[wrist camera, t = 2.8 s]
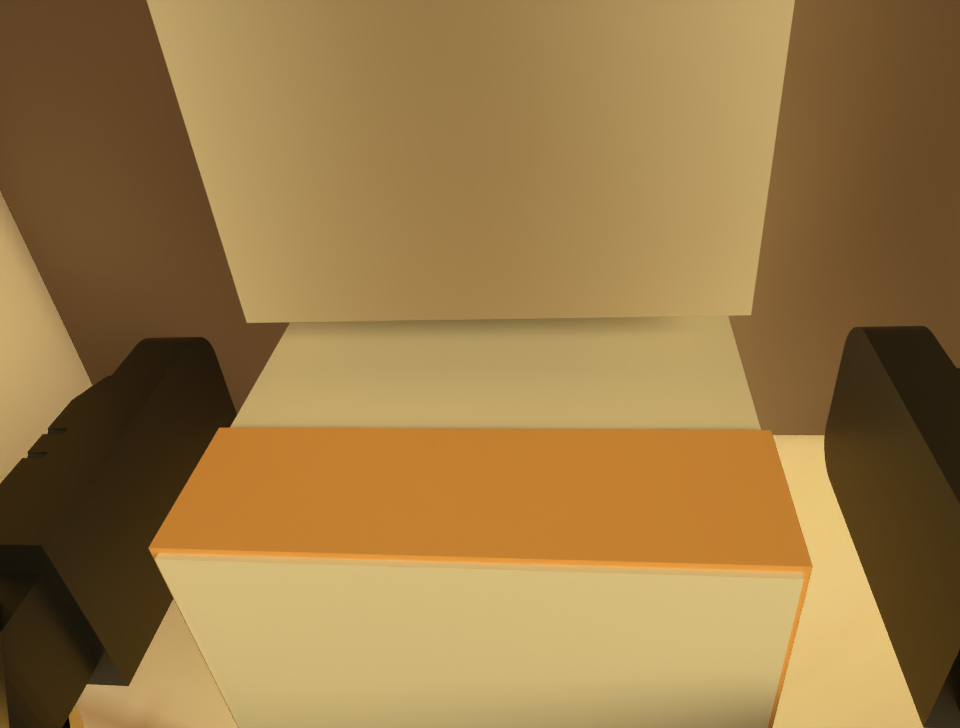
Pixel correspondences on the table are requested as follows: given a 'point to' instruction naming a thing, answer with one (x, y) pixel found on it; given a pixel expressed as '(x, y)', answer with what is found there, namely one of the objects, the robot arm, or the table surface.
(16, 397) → the table surface
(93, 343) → the ticket board
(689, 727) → the orange-striped cream block
